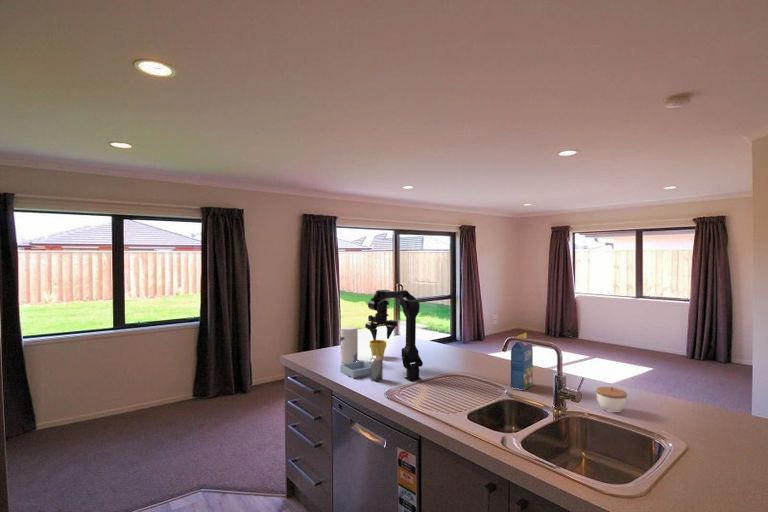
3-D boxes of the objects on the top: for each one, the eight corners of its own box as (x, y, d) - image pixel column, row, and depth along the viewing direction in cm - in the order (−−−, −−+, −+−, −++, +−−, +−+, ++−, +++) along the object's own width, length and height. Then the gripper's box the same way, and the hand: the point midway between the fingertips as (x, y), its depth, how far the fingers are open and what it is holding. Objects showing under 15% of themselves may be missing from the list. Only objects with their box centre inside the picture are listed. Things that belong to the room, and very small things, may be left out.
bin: (376, 374, 206) (376, 366, 206) (353, 378, 198) (353, 371, 198) (362, 367, 217) (362, 360, 217) (340, 372, 209) (340, 364, 209)
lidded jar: (611, 417, 151) (611, 392, 151) (590, 406, 161) (590, 384, 161) (633, 414, 154) (633, 390, 154) (611, 404, 164) (611, 381, 164)
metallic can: (384, 380, 195) (384, 355, 195) (374, 382, 192) (374, 357, 192) (378, 377, 200) (378, 353, 200) (368, 379, 197) (368, 354, 197)
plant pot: (386, 359, 234) (386, 343, 234) (369, 359, 234) (369, 343, 234) (386, 355, 244) (386, 339, 244) (370, 355, 245) (370, 339, 245)
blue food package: (510, 388, 183) (510, 335, 183) (520, 382, 193) (520, 331, 193) (523, 391, 179) (523, 337, 179) (532, 384, 189) (533, 333, 189)
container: (338, 360, 233) (338, 326, 233) (354, 358, 237) (354, 325, 237) (343, 364, 224) (343, 329, 224) (360, 362, 228) (360, 328, 228)
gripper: (386, 308, 231) (385, 335, 231) (360, 311, 220) (359, 338, 220) (398, 311, 222) (397, 338, 222) (371, 314, 211) (370, 343, 211)
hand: (381, 339), depth 219 cm, fingers open, 9 cm apart
